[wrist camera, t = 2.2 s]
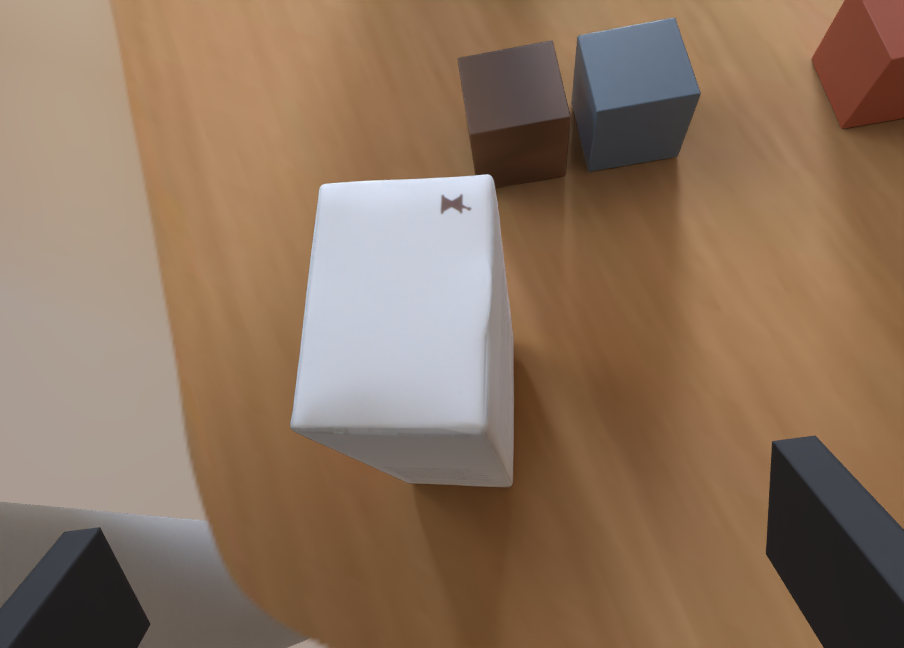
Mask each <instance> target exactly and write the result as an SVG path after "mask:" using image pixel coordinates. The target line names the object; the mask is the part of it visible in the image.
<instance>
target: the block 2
mask: <svg viewBox="0 0 904 648" xmlns="http://www.w3.org/2000/svg"><path fill="white" fill-rule="evenodd" d="M700 94H701V93H700V90H699V87H698V84H697V81H696V78H695V75H694V72H693V69H692V66H691V63H690V60H689V57H688V54H687V51H686V49H685V46H684V43H683V40H682V37H681V34H680V31H679V28H678V25H677V22H676V19H675V18H669V19H664V20H659V21H653V22H648V23H643V24H637V25H632V26H627V27H621V28H616V29H611V30H606V31H600V32H595V33H590V34H584V35H579V36H578V37H577V46H576V58H575V69H574V81H573V93H572V106H573V110H574V115H575V119H576V123H577V127H578V131H579V136H580V140H581V144H582V148H583V153H584V157H585V161H586V165H587V169H588V172H591V171H597V170H602V169H608V168H614V167H620V166H626V165H632V164H638V163H644V162H649V161H655V160H661V159H667V158H673V157H677V156H678V154H679V152H680V149H681V146H682V143H683V141H684V138H685V135H686V133H687V130H688V127H689V124H690V122H691V119H692V116H693V114H694V111H695V108H696V105H697V103H698V100H699V97H700Z"/></svg>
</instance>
